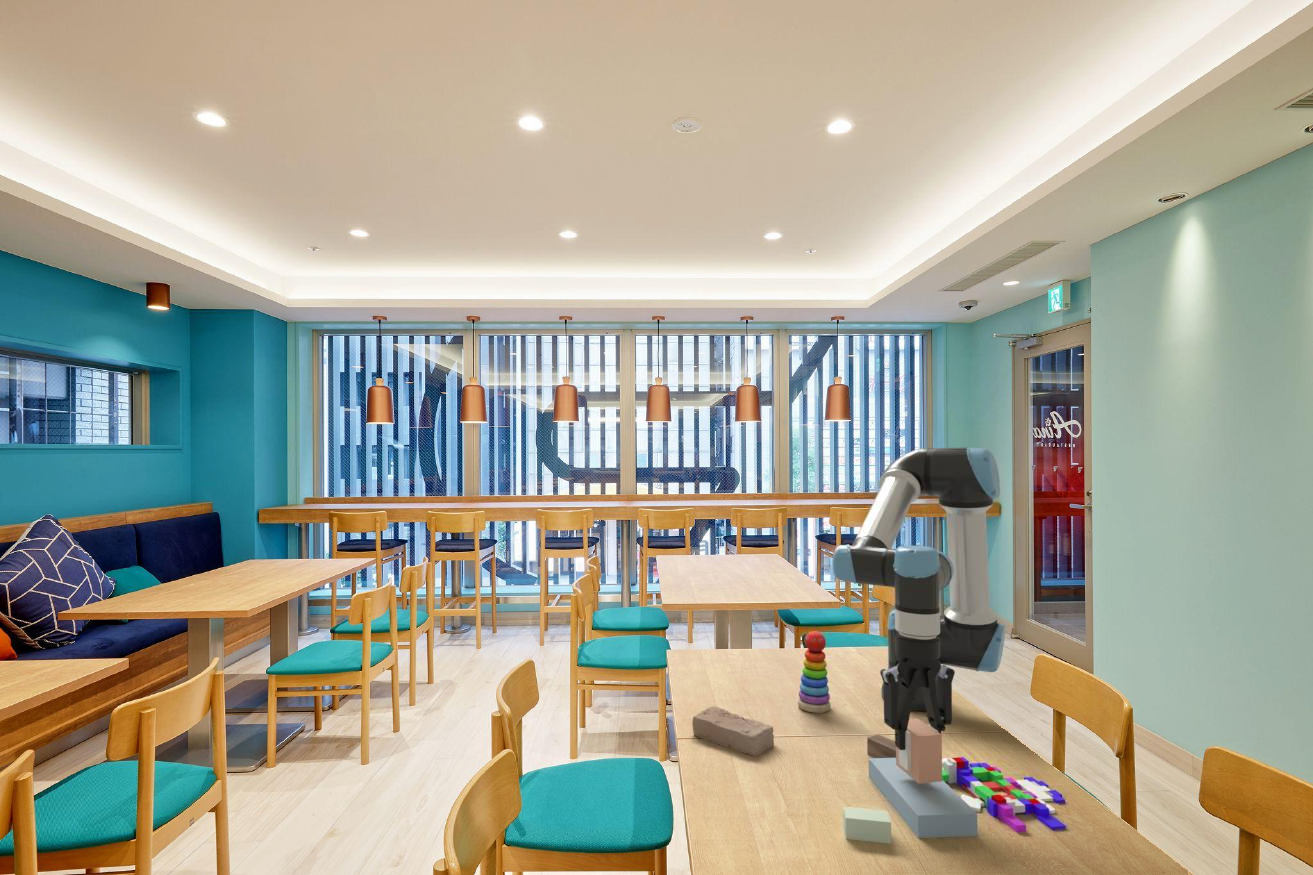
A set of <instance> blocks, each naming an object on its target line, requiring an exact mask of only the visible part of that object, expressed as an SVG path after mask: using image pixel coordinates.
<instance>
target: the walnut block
mask: <svg viewBox="0 0 1313 875" xmlns="http://www.w3.org/2000/svg"><path fill="white" fill-rule="evenodd" d="M866 743H867V746H866V747H867V750H866V752H867V755H869V756H870V757H873V758H896V745H895V740H892V739H891V738H888V737H885V736H884V735H881V734H879V733H877V734H874V735H871V736H868V737H867V742H866Z"/></svg>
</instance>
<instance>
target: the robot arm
mask: <svg viewBox="0 0 1313 875" xmlns="http://www.w3.org/2000/svg"><path fill="white" fill-rule="evenodd" d="M999 474H1000V473H999V469H998V466H997V461H996V458H995V456H994V454H993V452H992V451H991V450H989V449H987V448H983V447H982V448H981V447H971V446H970V447H969V446H968V447H967V446H966V447H965V446H964V447H938V448H937V447H932V448H930V447H921V448H917V449H913V450H910V451H908V452H906V453H904V454H902V455H901V456H899V457H898V458H897V459H895V460H893V462H891V463H890V464H889V465H888V466H887V468H885V469H884V470H883V472H882V474H881V476H880V478H879V481H878V488H879V490H878V492H877V494H876V496H875V498H874V501H873V502H872V505H871V506H870V508H869V511H868V513H867V514H866V517H865V519H864V520H863V523H862V524H861V527H860V529H859V531H858V533H857V535H856V537H855V539H854V541H853V542H852V544H851V545H850V544H849V543H848V544H841V545H838V546H836V548H835V549H834V552H833V555H832V570H833V574H834V576H835V578H836V579H837V580H839V581H841V582H846V583H847V582H848V583H852V584H854V585H855V584H856V585H857V584H860V585H869V586H877V587H888V588H894V609H893V610H891V611H890V612H889V614H888V620H887V621H888V623H887V628H886V629H887V644H888V645H887V652H888V653H887V654H888V656H887V657H888V660H887V662H888V664H887V665H888V667H887V669H886V668H882V669H881V670H880V672H879V673H880V676H881V679H882V682H883V683H882V684H881V690H880V691H881V692H880V693H881V699H883V723H884V724H885V725H886V726H888V727H889V728H890V729H892V730H894V741H895V745H896V747H897V748H898V749H899V764H900V765H901V766H902V767H904V768H905V769H906V770H907V771H911V733H910V732H909V731H908V730H907V727H908V722H909V719H910V717H911V711H915V712H917V711H918V712H926V714H927V719H928V720H927V721H928V723H929V724H927V725H928V726H930V727H931V728H933V729H934V730H936V731H937V732H939V733H940V734H942V732H944V731H945V730H946V725H947V726H950V725H951V724H952V722H953V709H952V708H953V705H952V704H953V700H952V699H953V693H952V692H953V680H954V676H955V672H956V671H955V669H953V668H951V667H955V668H959V669H965V670H971V671H975V672H984V673H985V672H986V673H995V672H997V671H998V670H999V668H1000V665H1001V662H1002V656H1003V652H1004V646H1005V639H1006V638H1005V637H1006V626H1005V624H1003V623H1001V622H998V615H997V613H996V612H994V611H993V609H991V607H990V606H991V604H990V582H989V581H990V580H989V559H988V557H989V556H988V555H989V554H988V552H989V551H988V532H987V527H988V526H987V511H988V510H990V508H992V506H994V500H995V499H998V498H999V497H1000V494H1001V486H1000V484H1001V482H1000V475H999ZM921 496H929V497H938V504H939V506H940V507H941V508H942V509H943V510H945V515H946V535H947V536H946V537H947V538H946V540H947V554H948V555H947V554H946V553H944V552H942V551H940V550H937V549H936V548H934V547H931V546H925V545H899V546H898V547H897V548H896V549H895V548H893V546H894V544H895V541H896V539H897V537H898V535H899V532H900V530H901V527H902V525H903V523H904V520H905V518H906V516H907V514H908V511H909V509H910V507H911V504H912V503H914V502H916V501H917V499H918V498H919V497H921ZM947 586H949V600H950V603H949V604H950V605H949V606H948V607H947V608H946V609H945V610H944V612H943V615H941V612H940V609H941V608H940V592H941V590H942V589H945V588H946V587H947ZM948 666H949V667H948Z"/></svg>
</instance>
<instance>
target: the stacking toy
mask: <svg viewBox="0 0 1313 875" xmlns="http://www.w3.org/2000/svg"><path fill="white" fill-rule="evenodd" d="M804 643H805V644H804V645H805V647H806V648H807V650H805V651H804V657H805V658H804V659H803V667H802V674H801V676H800V681H801V682H800V683H799V689H800V690H799V691H798V697H799V698H798V700H797V705H798V707H799V708H800V709H801V710H803V711H806V712H808V713H813V714H821V713H823V714H824V713H826V712H828V711H829V710H830V709H831V704H832V703H831V702H830V699H831V696H830V693H829V691H830V687H829V685H828V683H829V679H828V677H827V676H828V670H827V661H826V660H825V659H826V653H825V652H824V649H825V648H826V645H827V640H826V637H825V635H824V634H823V633H821V632H819V631H817V630H816V631H815V630H812V631H809V632H808V633H807V634H806V635H805V638H804Z"/></svg>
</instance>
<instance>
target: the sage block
mask: <svg viewBox="0 0 1313 875" xmlns="http://www.w3.org/2000/svg"><path fill="white" fill-rule="evenodd" d="M842 809H843V810H842V811H843V813H842V814H843V815H842V816H843V820H842V821H843V825H842V826H843V831H844V836H845V840H854V841H861V842H862V841H863V842H871V843H882V844H891V845H892V821H891V818H890V815H889V812H888V810H883V809H874V808H863V807H853V806H843V807H842Z"/></svg>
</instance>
